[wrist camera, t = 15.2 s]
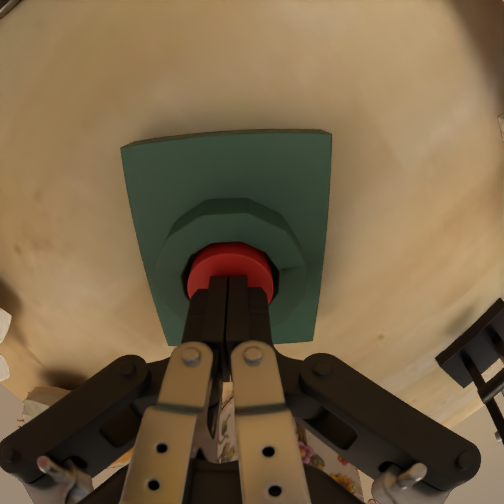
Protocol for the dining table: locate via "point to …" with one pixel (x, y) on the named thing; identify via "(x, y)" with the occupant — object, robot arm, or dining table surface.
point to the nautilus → (46, 398)
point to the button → (231, 266)
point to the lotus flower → (0, 328)
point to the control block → (233, 215)
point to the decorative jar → (308, 444)
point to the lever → (492, 387)
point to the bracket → (478, 356)
